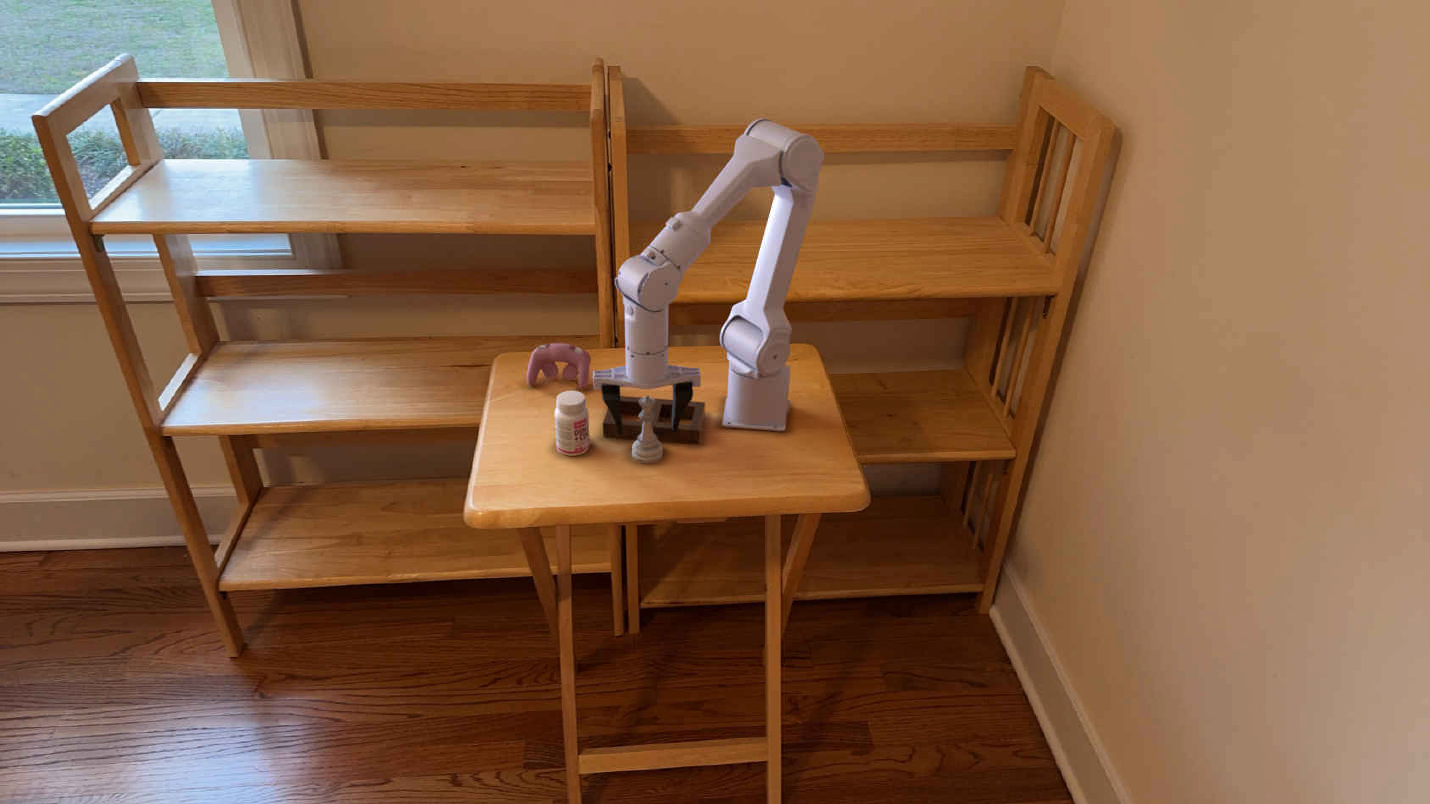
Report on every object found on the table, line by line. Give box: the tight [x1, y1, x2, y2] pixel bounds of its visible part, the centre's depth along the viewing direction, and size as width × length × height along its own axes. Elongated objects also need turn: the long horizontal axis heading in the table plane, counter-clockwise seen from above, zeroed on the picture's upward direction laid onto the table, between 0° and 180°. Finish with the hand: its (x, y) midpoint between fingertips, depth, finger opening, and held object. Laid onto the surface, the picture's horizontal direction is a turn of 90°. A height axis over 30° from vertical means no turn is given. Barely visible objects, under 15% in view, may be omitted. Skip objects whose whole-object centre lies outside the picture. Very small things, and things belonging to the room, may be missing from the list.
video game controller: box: [526, 342, 592, 391], centre depth 152 cm, size 10×5×7 cm, turn 84°
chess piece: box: [631, 394, 664, 464], centre depth 134 cm, size 4×4×10 cm
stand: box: [602, 395, 706, 445], centre depth 142 cm, size 14×8×2 cm, turn 85°
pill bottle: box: [554, 390, 590, 457], centre depth 136 cm, size 5×5×8 cm
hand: (647, 429), depth 134 cm, fingers open, 7 cm apart
